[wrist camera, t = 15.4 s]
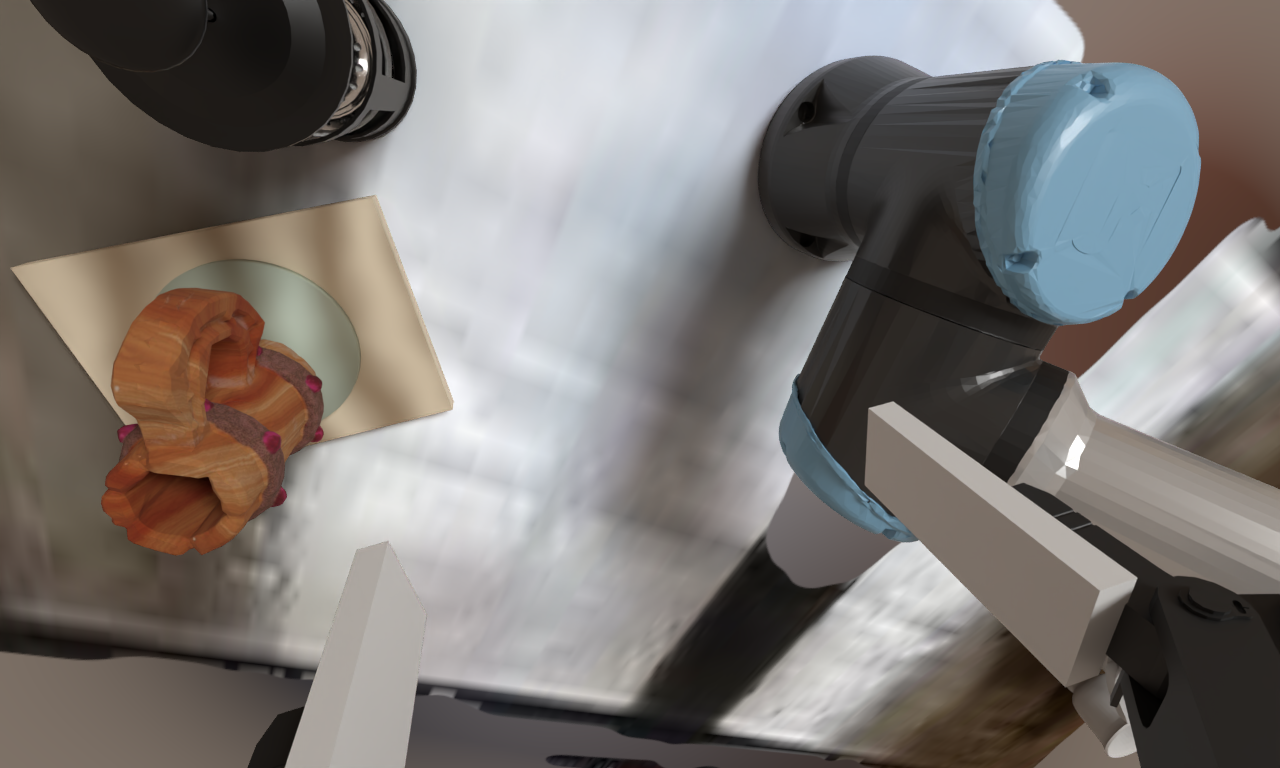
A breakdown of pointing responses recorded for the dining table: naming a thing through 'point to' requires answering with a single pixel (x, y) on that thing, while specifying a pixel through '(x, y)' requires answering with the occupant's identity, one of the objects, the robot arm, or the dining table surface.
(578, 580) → the dining table surface
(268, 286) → the serving board
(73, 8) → the french press
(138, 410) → the mug
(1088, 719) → the teacup
